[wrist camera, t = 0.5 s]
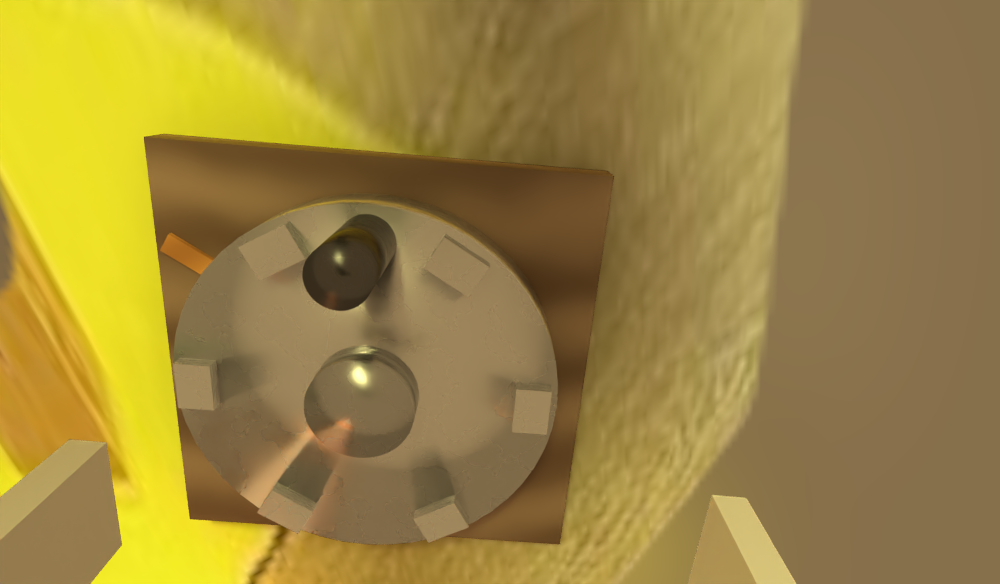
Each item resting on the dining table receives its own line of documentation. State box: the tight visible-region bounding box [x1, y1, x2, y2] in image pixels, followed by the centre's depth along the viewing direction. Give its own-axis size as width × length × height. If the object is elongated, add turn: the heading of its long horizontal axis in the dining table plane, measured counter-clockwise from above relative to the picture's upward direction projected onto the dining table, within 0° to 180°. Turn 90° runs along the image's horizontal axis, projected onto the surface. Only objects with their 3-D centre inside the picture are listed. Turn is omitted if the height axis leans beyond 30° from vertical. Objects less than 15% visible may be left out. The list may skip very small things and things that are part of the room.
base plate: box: [144, 134, 614, 544], centre depth 38 cm, size 26×26×2 cm
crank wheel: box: [173, 193, 558, 544], centre depth 32 cm, size 22×22×9 cm
